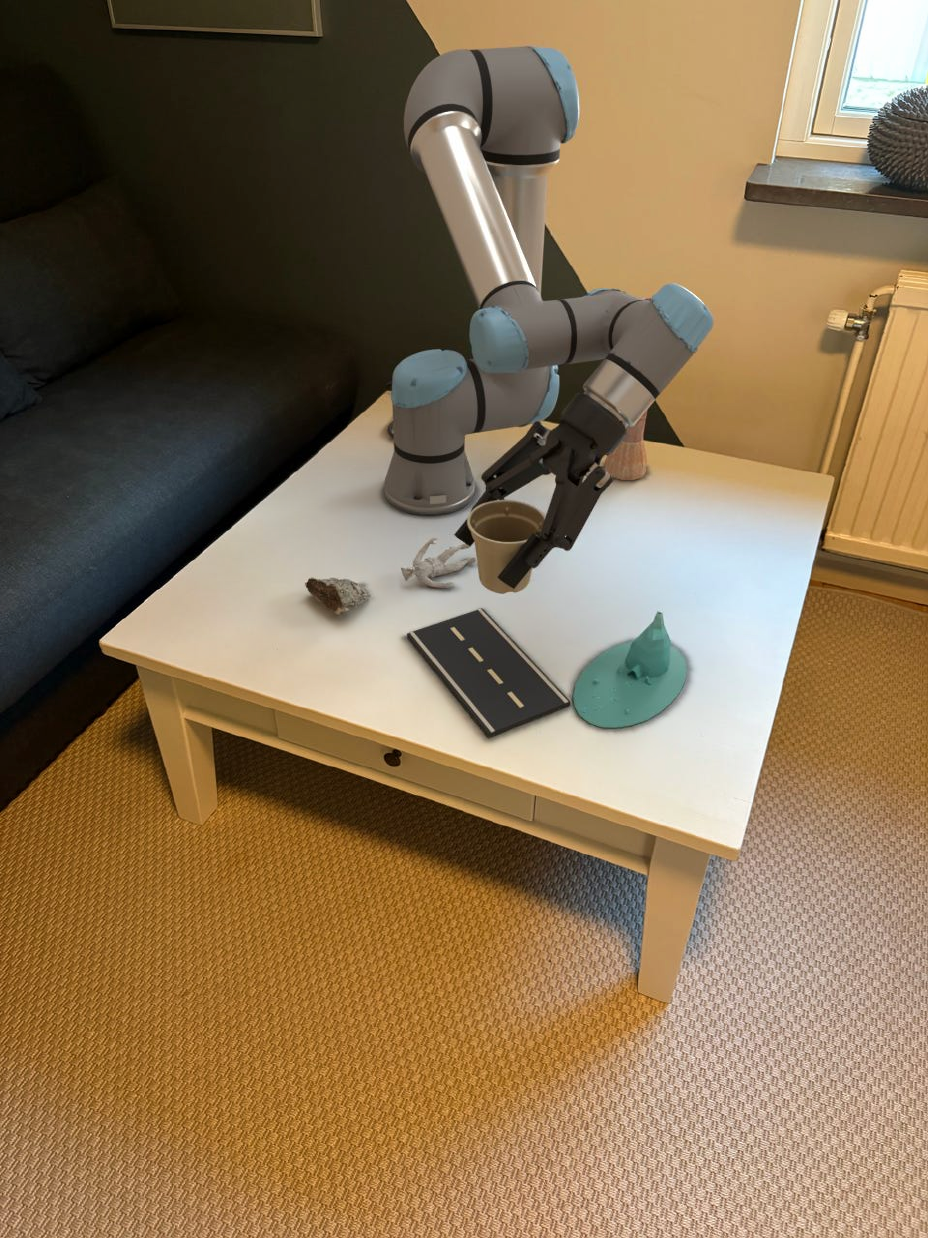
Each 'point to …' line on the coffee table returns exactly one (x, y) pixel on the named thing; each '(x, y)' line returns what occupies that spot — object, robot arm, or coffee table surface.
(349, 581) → the rock sample
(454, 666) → the road
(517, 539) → the flower pot
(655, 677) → the diorama
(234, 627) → the coffee table surface
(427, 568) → the soldier figure
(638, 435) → the vase
